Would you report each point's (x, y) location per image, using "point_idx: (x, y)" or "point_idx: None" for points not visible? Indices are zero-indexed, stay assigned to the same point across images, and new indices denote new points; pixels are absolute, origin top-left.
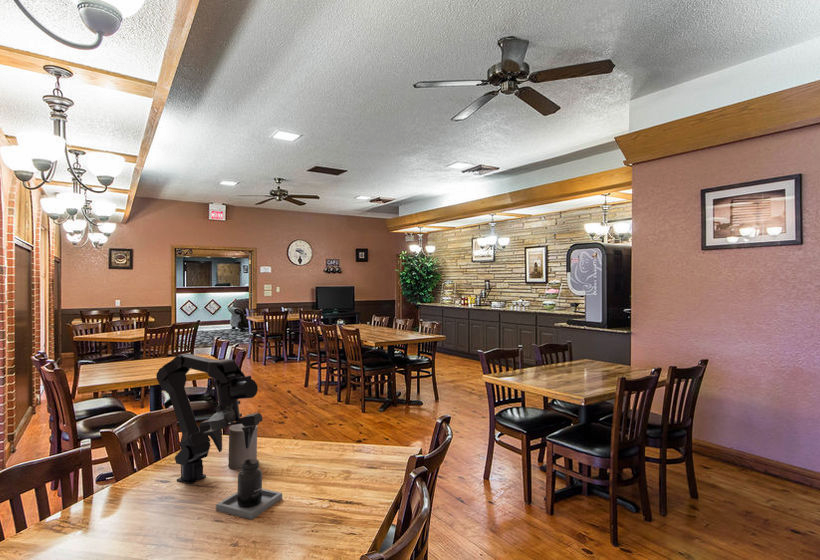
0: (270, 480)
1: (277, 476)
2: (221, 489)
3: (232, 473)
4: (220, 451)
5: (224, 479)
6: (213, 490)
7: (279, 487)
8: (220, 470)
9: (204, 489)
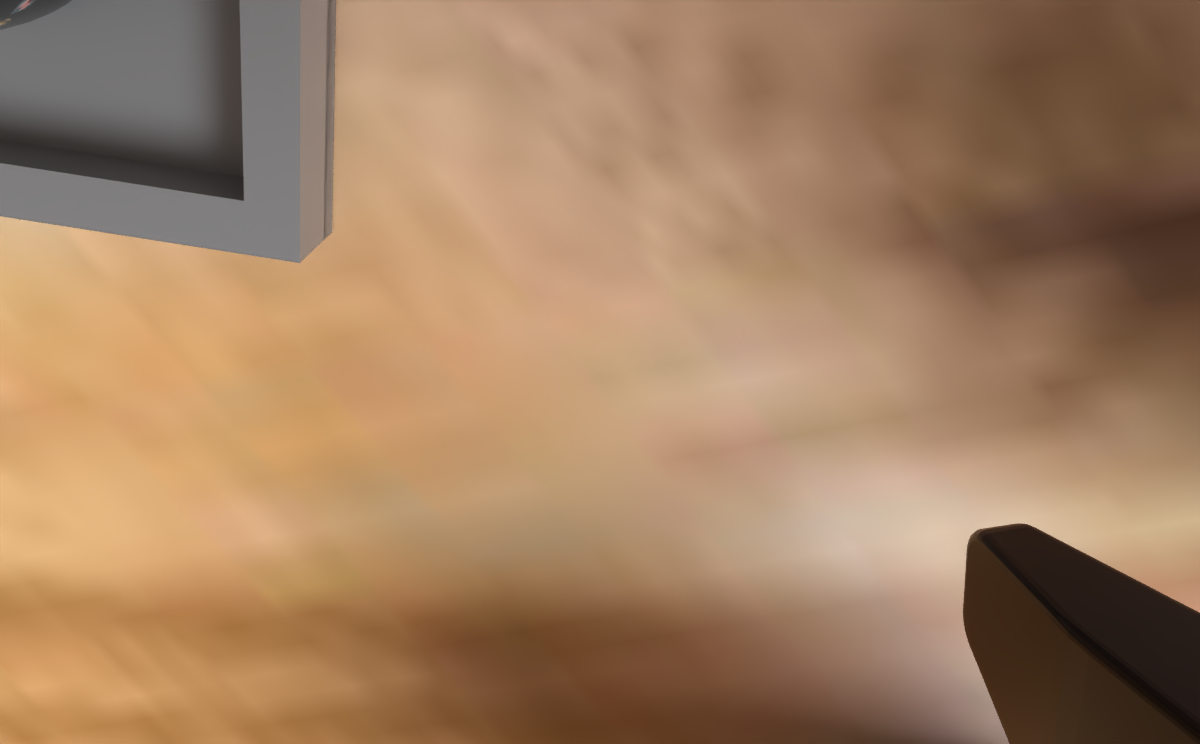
0: (275, 582)
1: (271, 690)
2: (795, 183)
3: (940, 666)
4: (969, 551)
5: (952, 489)
6: (912, 116)
7: (9, 434)
8: None
9: (1099, 109)
